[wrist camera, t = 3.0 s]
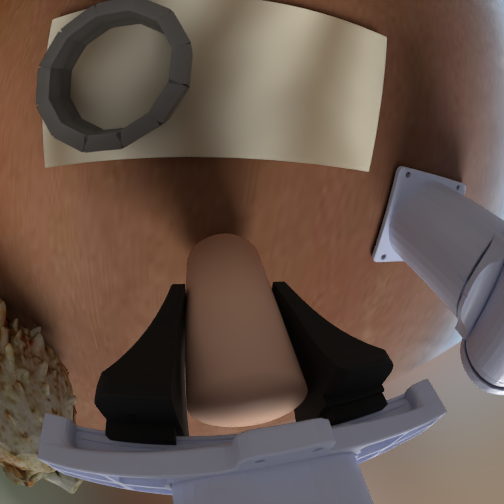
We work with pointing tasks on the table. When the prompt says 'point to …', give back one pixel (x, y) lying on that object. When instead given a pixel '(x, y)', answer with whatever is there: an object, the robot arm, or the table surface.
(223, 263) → the peg
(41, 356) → the seashell
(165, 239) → the table surface
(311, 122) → the holder board
